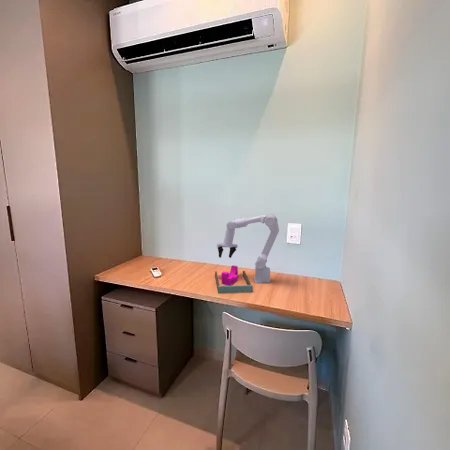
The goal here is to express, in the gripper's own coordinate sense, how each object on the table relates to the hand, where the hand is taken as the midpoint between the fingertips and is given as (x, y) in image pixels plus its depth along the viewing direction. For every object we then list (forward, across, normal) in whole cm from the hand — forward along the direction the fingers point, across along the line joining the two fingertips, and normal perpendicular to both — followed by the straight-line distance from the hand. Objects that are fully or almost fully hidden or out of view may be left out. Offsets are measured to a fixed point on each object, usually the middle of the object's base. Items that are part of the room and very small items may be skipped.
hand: (224, 257), depth 181 cm
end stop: (+11, +3, +26) cm, 29 cm away
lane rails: (+12, -2, +13) cm, 18 cm away
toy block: (+12, -3, +10) cm, 16 cm away
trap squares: (+13, -5, +4) cm, 14 cm away
